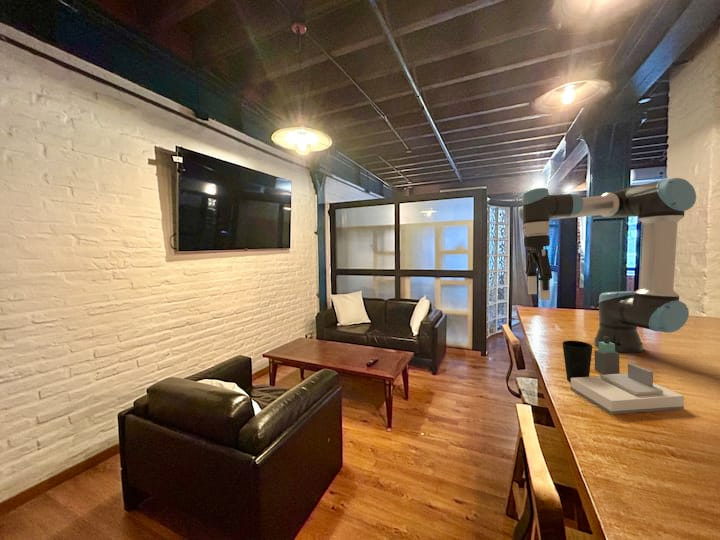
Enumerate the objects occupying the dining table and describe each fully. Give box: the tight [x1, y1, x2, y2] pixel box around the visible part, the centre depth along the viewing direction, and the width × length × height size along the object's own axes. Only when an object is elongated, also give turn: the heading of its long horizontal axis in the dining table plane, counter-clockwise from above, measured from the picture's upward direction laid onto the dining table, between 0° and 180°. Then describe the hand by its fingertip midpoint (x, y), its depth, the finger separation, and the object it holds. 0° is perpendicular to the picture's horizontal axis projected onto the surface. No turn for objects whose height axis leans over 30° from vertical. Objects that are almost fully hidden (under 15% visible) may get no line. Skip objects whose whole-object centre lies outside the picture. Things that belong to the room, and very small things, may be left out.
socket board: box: [570, 373, 685, 415], centre depth 82 cm, size 19×14×4 cm
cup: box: [561, 340, 593, 383], centre depth 94 cm, size 8×8×12 cm
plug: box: [594, 336, 621, 375], centre depth 99 cm, size 5×4×12 cm
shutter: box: [599, 362, 663, 395], centre depth 82 cm, size 7×11×5 cm, turn 1°
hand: (538, 297), depth 102 cm, fingers open, 13 cm apart
